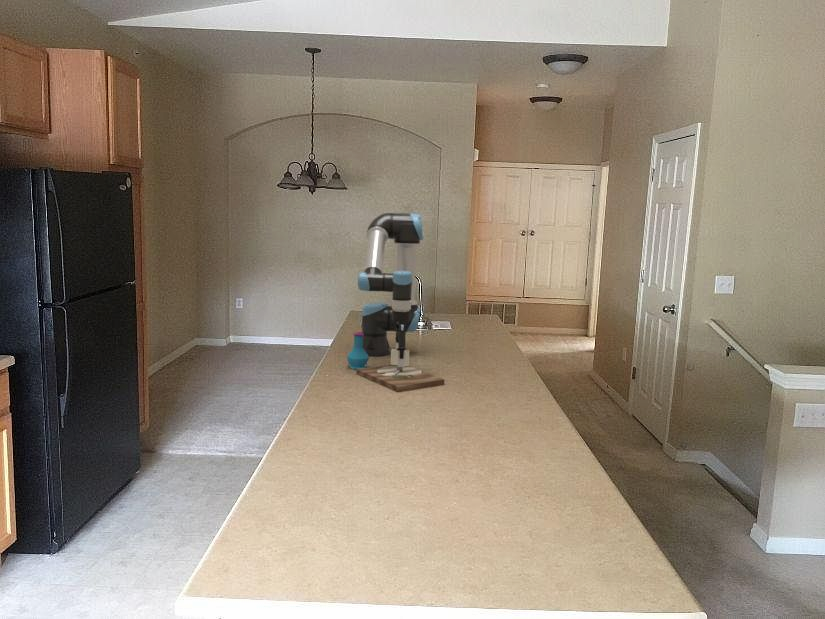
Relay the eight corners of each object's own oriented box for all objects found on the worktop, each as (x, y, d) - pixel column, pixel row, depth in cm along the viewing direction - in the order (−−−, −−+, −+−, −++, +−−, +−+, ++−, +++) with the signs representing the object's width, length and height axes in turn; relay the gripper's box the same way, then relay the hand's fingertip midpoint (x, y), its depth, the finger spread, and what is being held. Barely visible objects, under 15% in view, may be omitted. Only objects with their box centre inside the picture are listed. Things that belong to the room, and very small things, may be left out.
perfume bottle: (370, 365, 283) (371, 331, 281) (366, 370, 274) (367, 335, 272) (349, 364, 284) (349, 330, 281) (344, 369, 275) (345, 334, 272)
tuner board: (356, 373, 268) (356, 368, 268) (401, 367, 281) (401, 362, 280) (397, 392, 244) (397, 385, 244) (444, 384, 257) (444, 378, 256)
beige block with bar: (384, 376, 257) (385, 354, 256) (391, 370, 268) (392, 348, 266) (402, 377, 256) (402, 355, 254) (408, 371, 266) (409, 350, 265)
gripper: (413, 315, 250) (411, 370, 253) (408, 305, 274) (406, 355, 278) (393, 315, 249) (392, 369, 252) (390, 305, 274) (388, 355, 277)
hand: (399, 362), depth 265 cm, fingers open, 13 cm apart
